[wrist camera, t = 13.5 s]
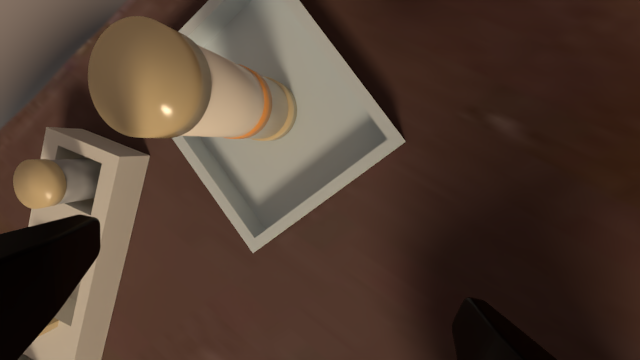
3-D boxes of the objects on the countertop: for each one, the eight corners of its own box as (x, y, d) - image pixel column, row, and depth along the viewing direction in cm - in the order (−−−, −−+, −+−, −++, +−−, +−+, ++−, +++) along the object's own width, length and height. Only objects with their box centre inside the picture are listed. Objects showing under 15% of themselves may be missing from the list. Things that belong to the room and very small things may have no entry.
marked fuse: (278, 152, 20) (156, 159, 10) (231, 121, 20) (72, 100, 11) (308, 99, 19) (208, 52, 9) (258, 68, 19) (115, -6, 10)
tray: (405, 141, 19) (405, 141, 16) (270, 240, 21) (252, 253, 19) (277, -28, 19) (259, -53, 17) (161, 87, 22) (131, 80, 20)
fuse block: (150, 155, 23) (93, 158, 18) (90, 404, 26) (30, 454, 22) (82, 128, 24) (14, 125, 20) (34, 371, 27) (-33, 412, 23)
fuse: (122, 194, 23) (56, 205, 19) (89, 199, 24) (18, 211, 19) (114, 154, 23) (46, 156, 18) (81, 160, 23) (8, 163, 19)
